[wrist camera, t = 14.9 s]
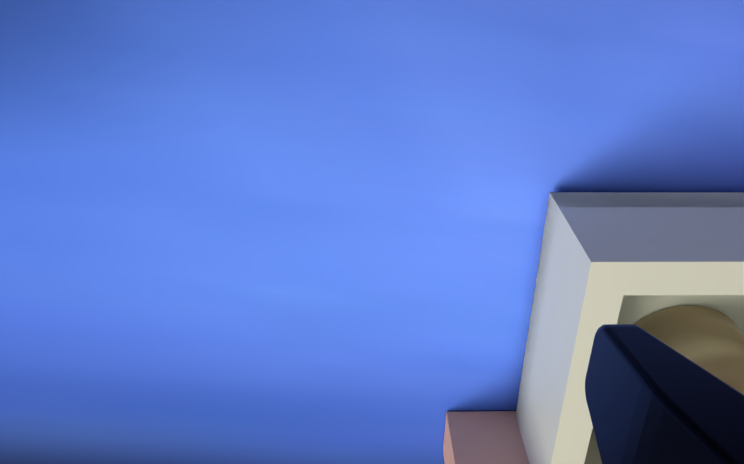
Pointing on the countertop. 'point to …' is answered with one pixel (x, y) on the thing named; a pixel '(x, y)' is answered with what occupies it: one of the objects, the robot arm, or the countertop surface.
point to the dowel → (701, 339)
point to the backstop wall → (483, 438)
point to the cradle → (616, 294)
